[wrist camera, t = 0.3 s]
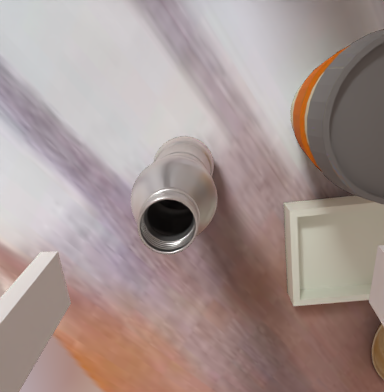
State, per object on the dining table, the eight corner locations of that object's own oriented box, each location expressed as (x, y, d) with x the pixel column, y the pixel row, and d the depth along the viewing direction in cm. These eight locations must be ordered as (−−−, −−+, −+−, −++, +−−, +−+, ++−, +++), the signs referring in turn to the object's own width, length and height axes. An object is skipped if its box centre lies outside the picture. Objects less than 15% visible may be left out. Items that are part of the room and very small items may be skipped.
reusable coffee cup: (381, 168, 39) (487, 210, 25) (270, 167, 39) (310, 209, 25) (400, 48, 35) (536, 16, 21) (277, 49, 36) (329, 17, 21)
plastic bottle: (225, 157, 39) (247, 217, 20) (187, 201, 41) (175, 296, 21) (180, 121, 38) (159, 146, 19) (144, 167, 40) (90, 234, 20)
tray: (283, 202, 40) (289, 211, 37) (405, 190, 40) (421, 197, 37) (287, 292, 44) (293, 306, 41) (400, 282, 43) (415, 295, 40)
